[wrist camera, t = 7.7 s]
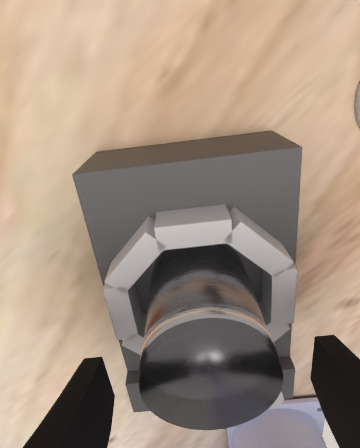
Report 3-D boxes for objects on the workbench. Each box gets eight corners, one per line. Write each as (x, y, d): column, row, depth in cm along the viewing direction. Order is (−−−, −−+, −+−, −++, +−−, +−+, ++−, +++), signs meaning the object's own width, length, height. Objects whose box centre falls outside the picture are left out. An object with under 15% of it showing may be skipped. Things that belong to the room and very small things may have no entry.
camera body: (268, 334, 21) (298, 414, 16) (142, 347, 22) (132, 429, 17) (272, 130, 15) (320, 156, 10) (96, 152, 15) (58, 187, 10)
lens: (251, 236, 13) (297, 332, 8) (241, 315, 15) (273, 430, 10) (149, 236, 13) (133, 332, 8) (151, 315, 15) (140, 431, 10)
